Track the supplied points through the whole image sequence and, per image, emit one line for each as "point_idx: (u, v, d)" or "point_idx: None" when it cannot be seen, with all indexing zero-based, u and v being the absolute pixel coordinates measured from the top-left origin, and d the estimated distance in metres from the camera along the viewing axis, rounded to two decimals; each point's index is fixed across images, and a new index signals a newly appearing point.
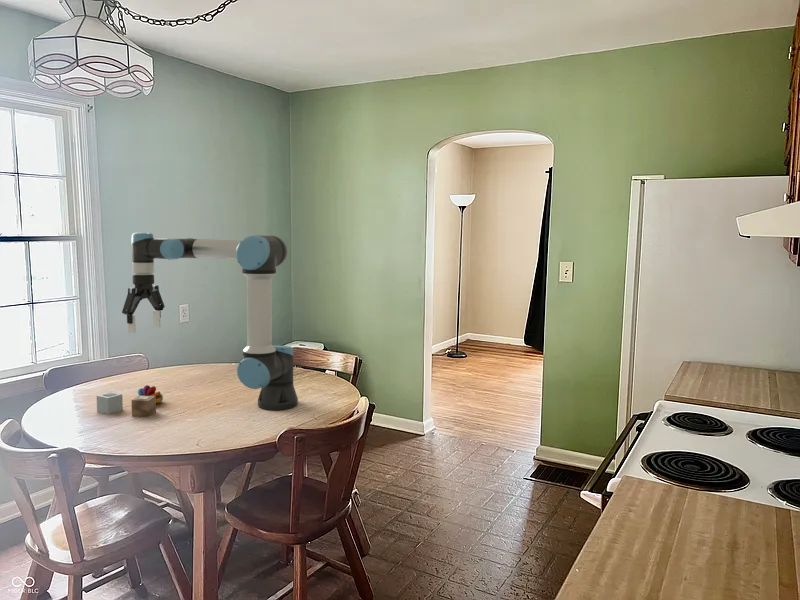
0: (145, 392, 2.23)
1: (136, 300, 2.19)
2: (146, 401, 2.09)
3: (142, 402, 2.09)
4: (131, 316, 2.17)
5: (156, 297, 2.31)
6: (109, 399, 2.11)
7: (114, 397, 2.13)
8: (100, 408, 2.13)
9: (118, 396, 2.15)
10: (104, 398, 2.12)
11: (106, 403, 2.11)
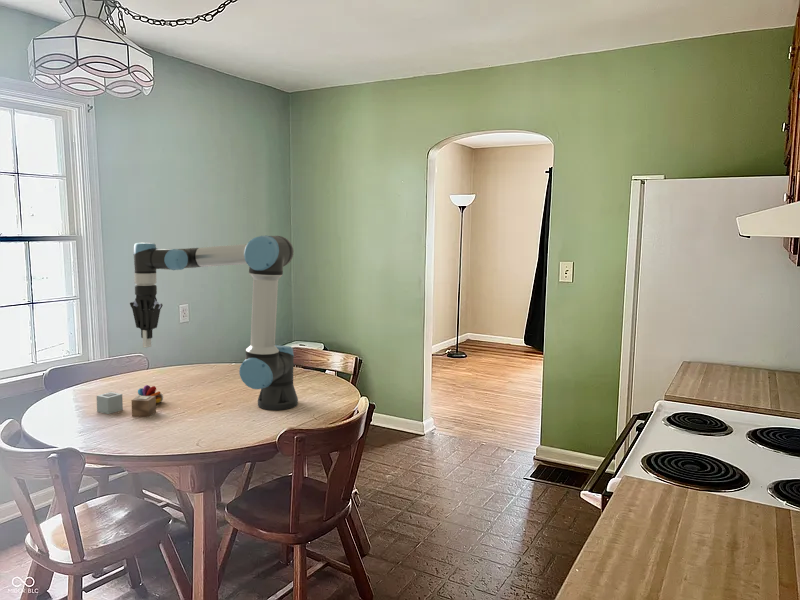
0: (145, 392, 2.23)
1: None
2: (146, 401, 2.09)
3: (142, 402, 2.09)
4: (142, 331, 2.21)
5: None
6: (109, 399, 2.11)
7: (114, 397, 2.13)
8: (100, 408, 2.13)
9: (118, 396, 2.15)
10: (104, 398, 2.12)
11: (106, 403, 2.11)
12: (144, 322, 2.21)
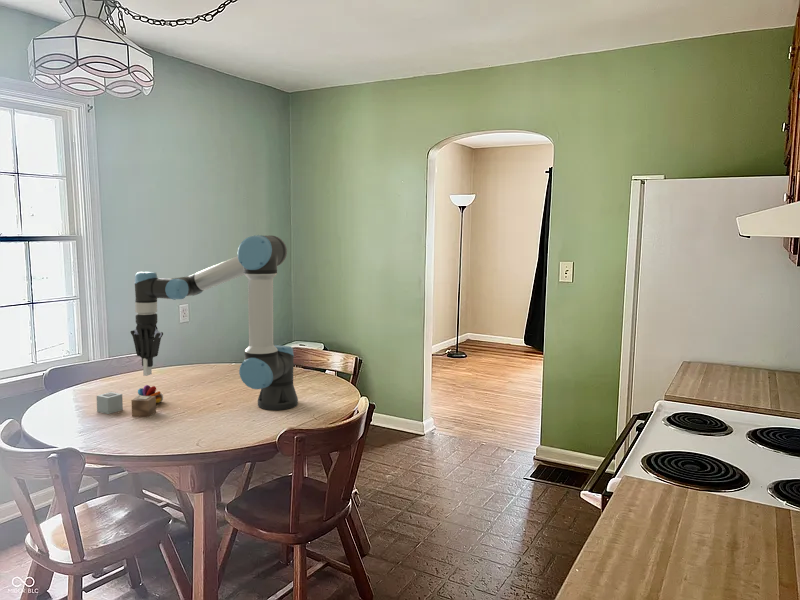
0: (145, 392, 2.23)
1: None
2: (146, 401, 2.09)
3: (142, 402, 2.09)
4: None
5: None
6: (109, 399, 2.11)
7: (114, 397, 2.13)
8: (100, 408, 2.13)
9: (118, 396, 2.15)
10: (104, 398, 2.12)
11: (106, 403, 2.11)
12: (145, 350, 2.23)
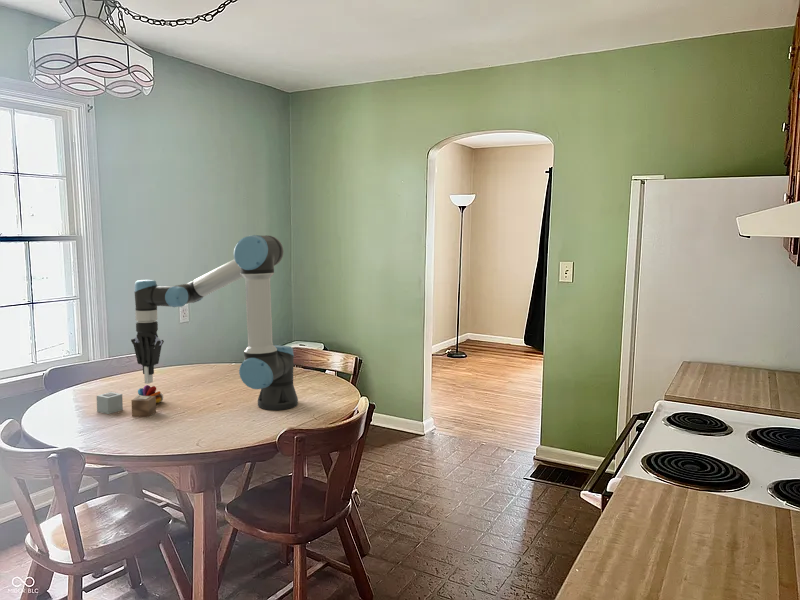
0: (145, 392, 2.23)
1: None
2: (146, 401, 2.09)
3: (142, 402, 2.09)
4: None
5: None
6: (109, 399, 2.11)
7: (114, 397, 2.13)
8: (100, 408, 2.13)
9: (118, 396, 2.15)
10: (104, 398, 2.12)
11: (106, 403, 2.11)
12: (145, 358, 2.23)
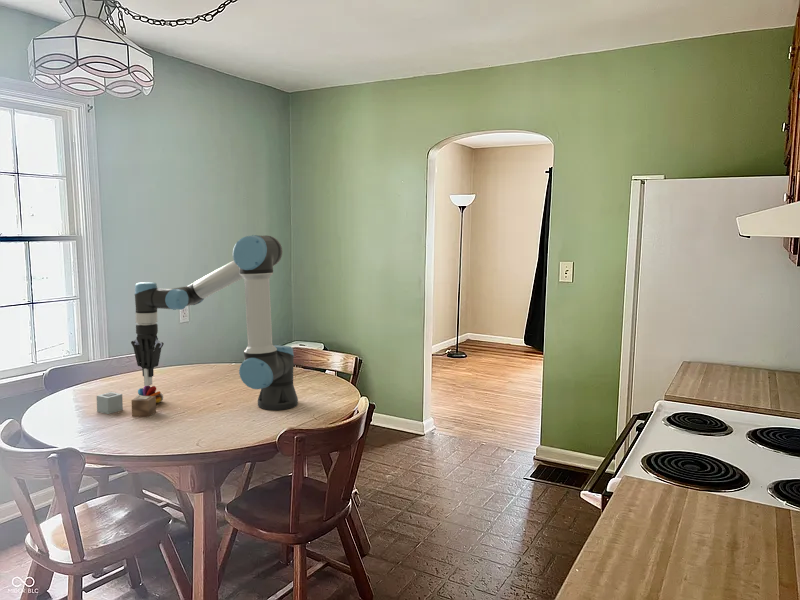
0: (145, 392, 2.23)
1: None
2: (146, 401, 2.09)
3: (142, 402, 2.09)
4: (143, 369, 2.23)
5: None
6: (109, 399, 2.11)
7: (114, 397, 2.13)
8: (100, 408, 2.13)
9: (118, 396, 2.15)
10: (104, 398, 2.12)
11: (106, 403, 2.11)
12: (145, 360, 2.23)
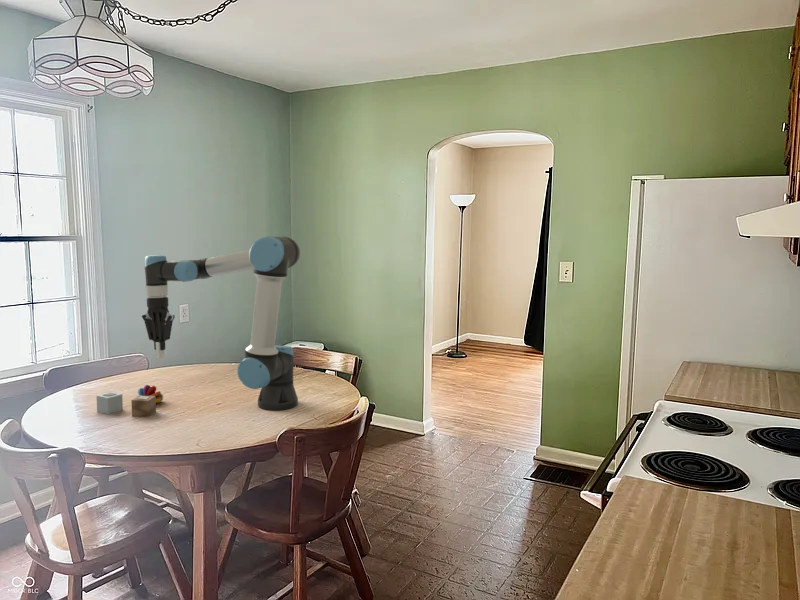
0: (145, 392, 2.23)
1: None
2: (146, 401, 2.09)
3: (142, 402, 2.09)
4: (155, 343, 2.23)
5: None
6: (109, 399, 2.11)
7: (114, 397, 2.13)
8: (100, 408, 2.13)
9: (118, 396, 2.15)
10: (104, 398, 2.12)
11: (106, 403, 2.11)
12: (157, 334, 2.23)
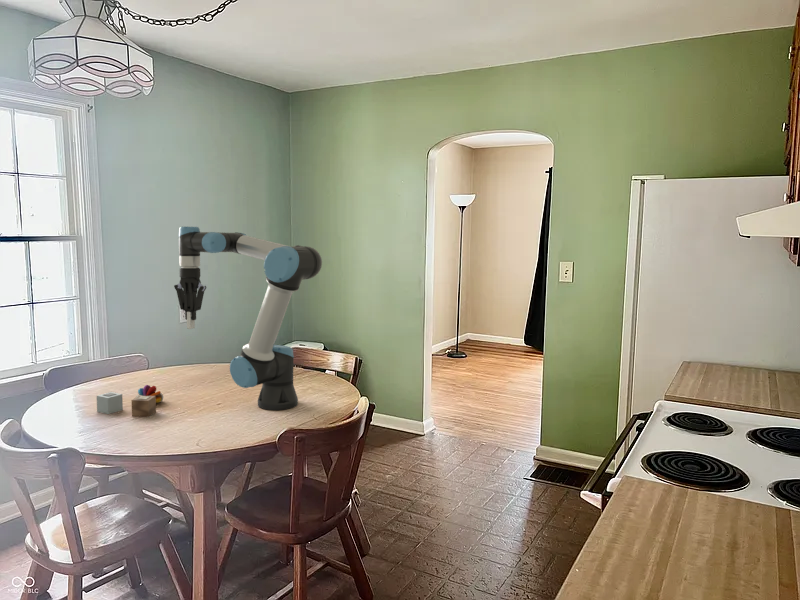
0: (145, 392, 2.23)
1: None
2: (146, 401, 2.09)
3: (142, 402, 2.09)
4: (186, 312, 2.27)
5: None
6: (109, 399, 2.11)
7: (114, 397, 2.13)
8: (100, 408, 2.13)
9: (118, 396, 2.15)
10: (104, 398, 2.12)
11: (106, 403, 2.11)
12: (188, 304, 2.27)
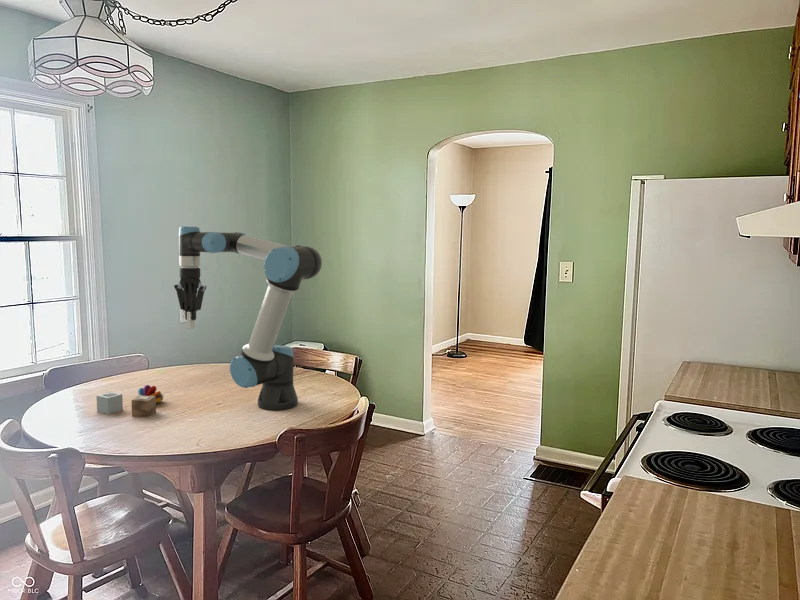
0: (145, 392, 2.23)
1: None
2: (146, 401, 2.09)
3: (142, 402, 2.09)
4: (186, 312, 2.27)
5: None
6: (109, 399, 2.11)
7: (114, 397, 2.13)
8: (100, 408, 2.13)
9: (118, 396, 2.15)
10: (104, 398, 2.12)
11: (106, 403, 2.11)
12: (188, 304, 2.27)
